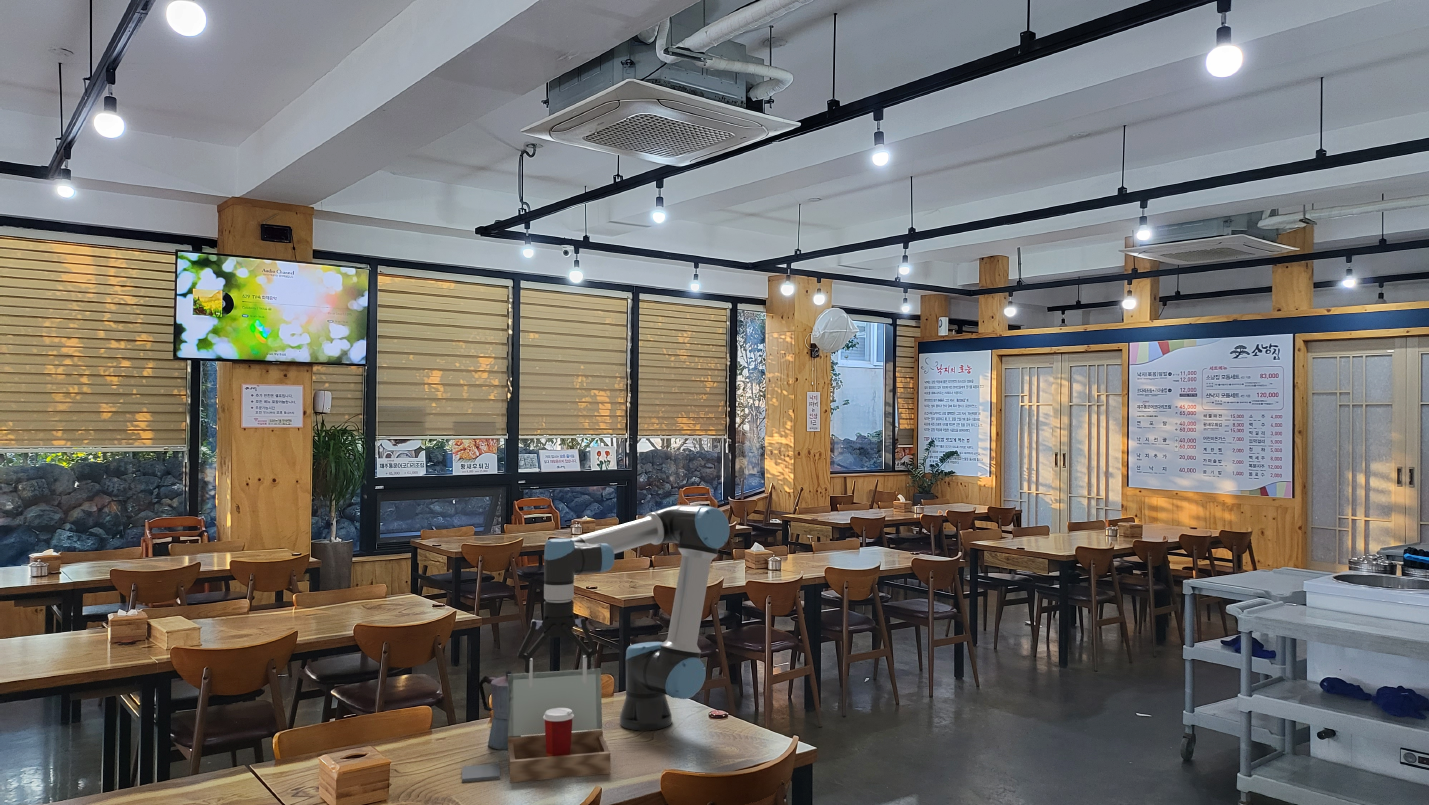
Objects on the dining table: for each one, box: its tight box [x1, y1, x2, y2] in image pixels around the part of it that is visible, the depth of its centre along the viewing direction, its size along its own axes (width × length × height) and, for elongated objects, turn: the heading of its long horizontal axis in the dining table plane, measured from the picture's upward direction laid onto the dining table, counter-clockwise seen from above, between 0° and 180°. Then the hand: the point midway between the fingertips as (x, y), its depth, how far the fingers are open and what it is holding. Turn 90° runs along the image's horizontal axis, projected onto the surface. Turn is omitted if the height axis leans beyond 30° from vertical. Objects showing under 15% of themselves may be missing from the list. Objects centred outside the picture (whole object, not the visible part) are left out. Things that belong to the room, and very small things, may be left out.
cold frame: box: [507, 729, 611, 784], centre depth 234 cm, size 24×15×6 cm, turn 105°
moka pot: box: [478, 670, 522, 751], centre depth 251 cm, size 10×15×20 cm, turn 78°
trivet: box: [461, 762, 501, 783], centre depth 229 cm, size 9×9×1 cm
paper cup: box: [543, 708, 574, 757], centre depth 234 cm, size 8×8×14 cm
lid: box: [508, 668, 603, 736], centre depth 244 cm, size 24×15×1 cm
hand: (557, 684), depth 235 cm, fingers open, 13 cm apart
